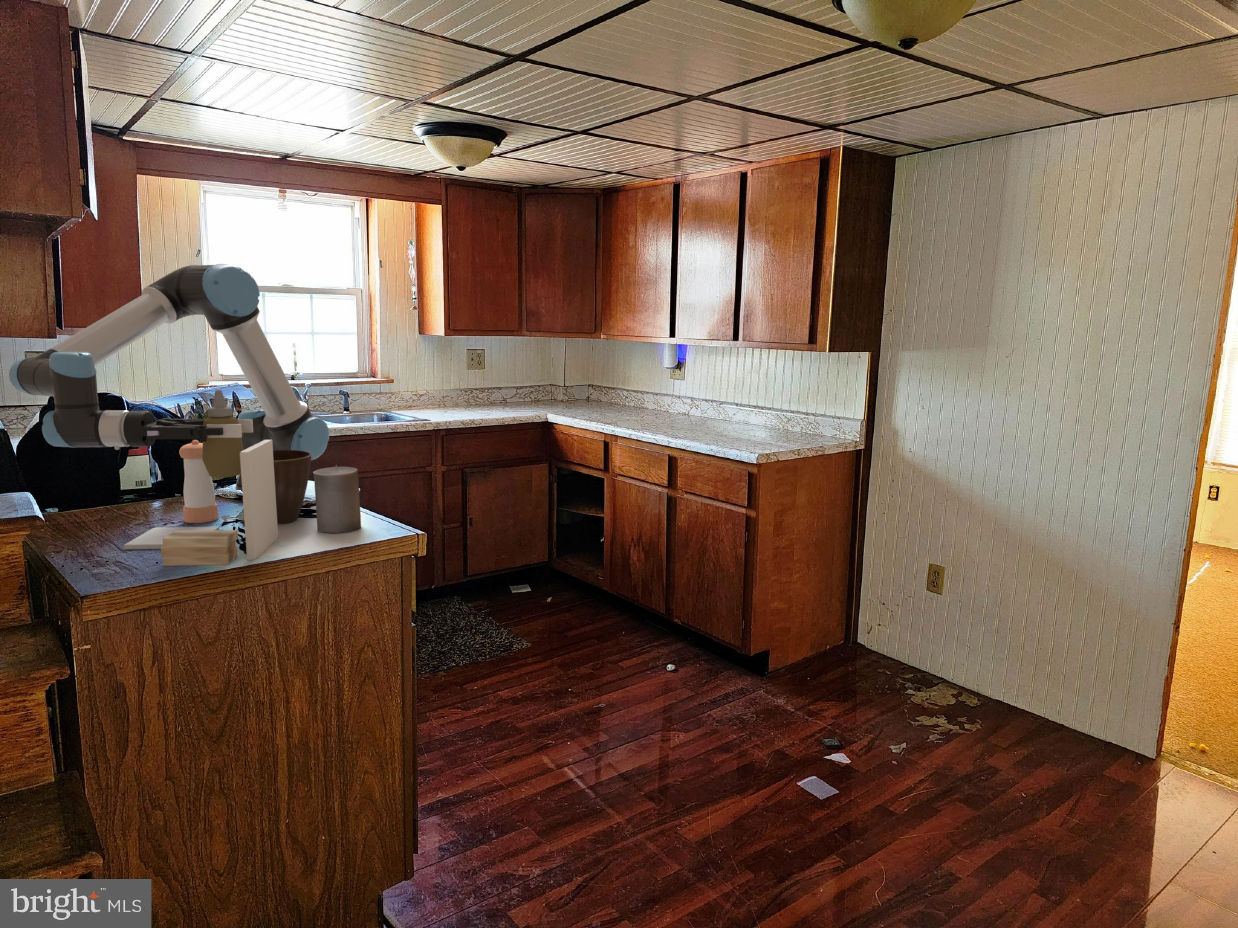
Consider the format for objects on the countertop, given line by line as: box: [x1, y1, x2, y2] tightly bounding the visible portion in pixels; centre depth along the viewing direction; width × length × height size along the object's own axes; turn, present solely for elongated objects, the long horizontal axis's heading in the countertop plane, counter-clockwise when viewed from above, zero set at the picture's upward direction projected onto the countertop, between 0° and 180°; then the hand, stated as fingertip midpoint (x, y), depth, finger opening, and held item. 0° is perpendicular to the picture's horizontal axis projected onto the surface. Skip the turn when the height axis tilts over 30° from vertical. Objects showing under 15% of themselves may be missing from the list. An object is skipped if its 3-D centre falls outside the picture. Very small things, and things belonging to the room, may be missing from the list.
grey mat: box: [124, 526, 221, 550], centre depth 177 cm, size 14×14×1 cm
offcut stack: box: [160, 529, 239, 567], centre depth 162 cm, size 7×13×5 cm, turn 97°
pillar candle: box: [312, 464, 362, 534], centre depth 187 cm, size 10×10×15 cm
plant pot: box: [273, 450, 312, 525], centre depth 193 cm, size 15×15×16 cm
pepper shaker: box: [178, 439, 219, 524], centre depth 193 cm, size 7×7×19 cm
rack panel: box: [240, 440, 279, 561], centre depth 170 cm, size 16×2×22 cm, turn 7°
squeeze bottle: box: [202, 389, 243, 479], centre depth 170 cm, size 8×8×18 cm
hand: (246, 428), depth 171 cm, fingers closed on squeeze bottle, 6 cm apart
